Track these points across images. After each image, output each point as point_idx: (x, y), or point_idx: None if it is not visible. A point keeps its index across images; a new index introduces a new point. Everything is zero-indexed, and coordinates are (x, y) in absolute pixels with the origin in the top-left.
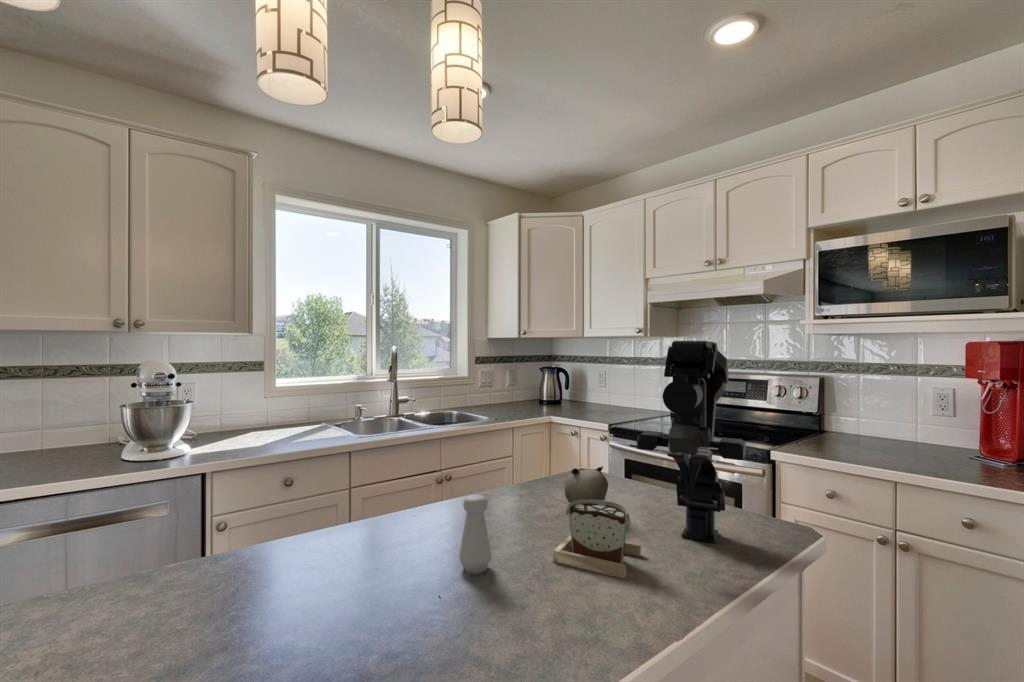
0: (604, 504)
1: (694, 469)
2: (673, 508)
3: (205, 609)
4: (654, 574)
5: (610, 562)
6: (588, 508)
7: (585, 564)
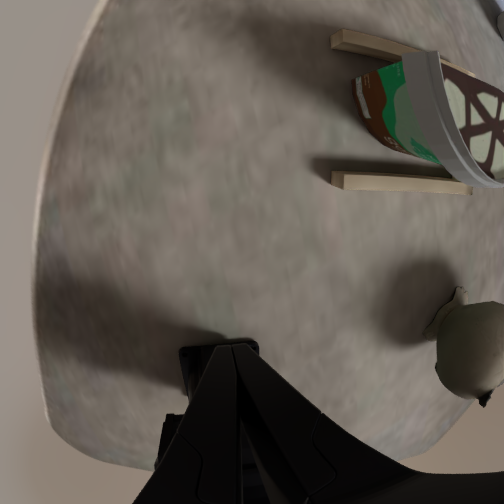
0: (496, 180)
1: (192, 476)
2: None
3: None
4: (273, 84)
5: (377, 43)
6: None
7: None
